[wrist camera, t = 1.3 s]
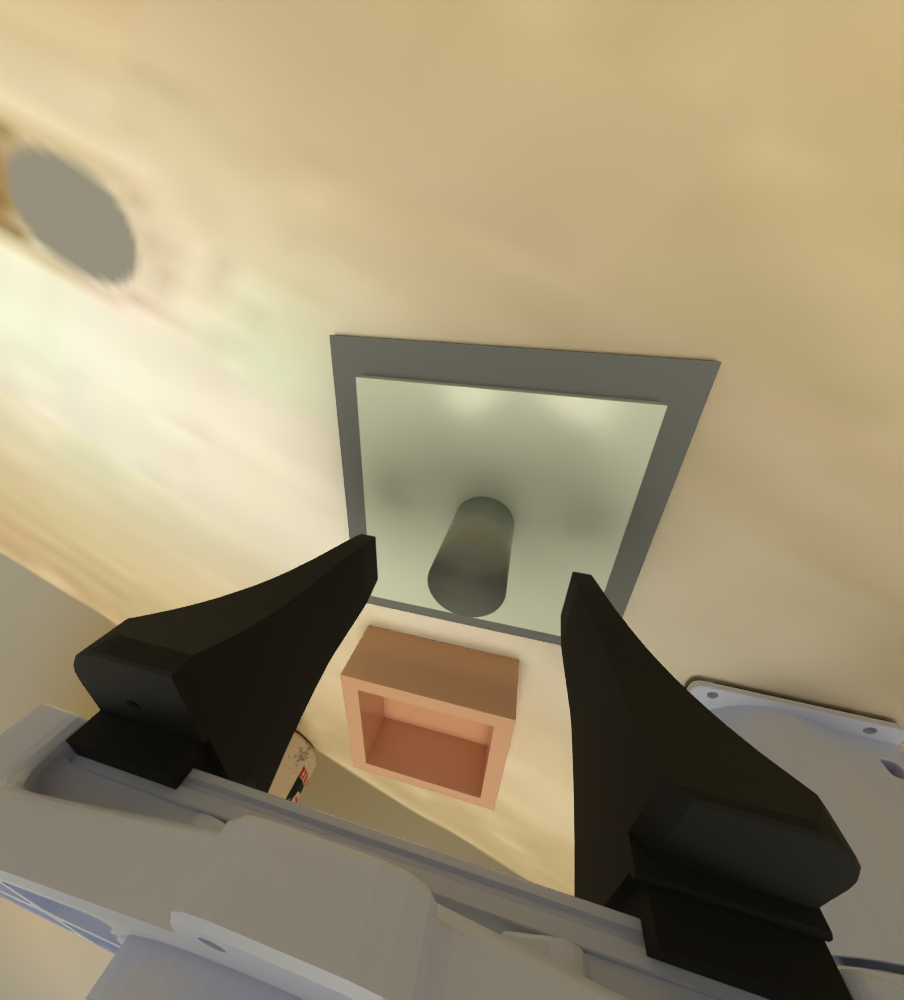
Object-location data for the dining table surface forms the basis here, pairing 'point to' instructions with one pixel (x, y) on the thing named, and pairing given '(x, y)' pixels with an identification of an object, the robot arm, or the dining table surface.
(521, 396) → the lid
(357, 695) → the dish
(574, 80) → the dining table surface
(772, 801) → the robot arm
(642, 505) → the mat
